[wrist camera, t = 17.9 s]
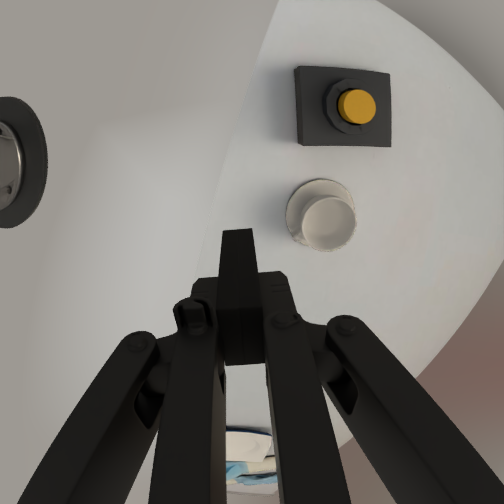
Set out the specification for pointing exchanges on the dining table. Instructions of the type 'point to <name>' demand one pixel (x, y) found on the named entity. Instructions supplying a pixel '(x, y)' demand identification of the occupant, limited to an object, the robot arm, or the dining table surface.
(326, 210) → the teacup
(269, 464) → the rubber gloves
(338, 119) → the yellow button cap base
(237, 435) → the plate
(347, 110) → the yellow button cap
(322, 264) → the dining table surface
